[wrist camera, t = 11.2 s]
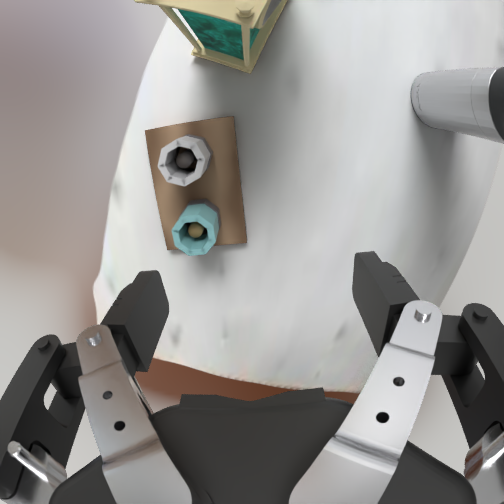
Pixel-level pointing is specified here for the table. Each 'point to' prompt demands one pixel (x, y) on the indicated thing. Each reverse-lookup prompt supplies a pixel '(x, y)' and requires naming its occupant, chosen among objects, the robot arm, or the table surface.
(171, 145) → the grey sleeve
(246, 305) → the table surface
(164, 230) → the brown peg stand
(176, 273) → the table surface
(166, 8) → the carriage clock
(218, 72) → the table surface
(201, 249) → the teal sleeve
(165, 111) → the table surface
